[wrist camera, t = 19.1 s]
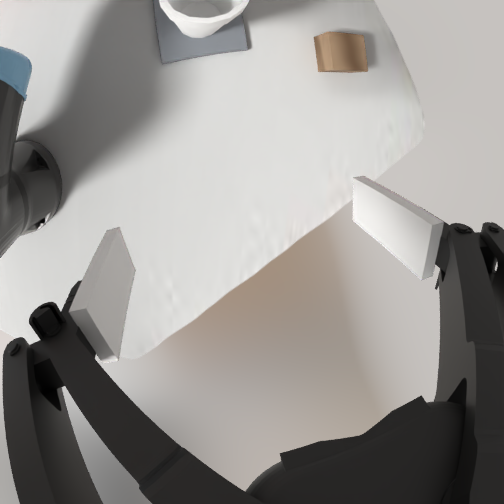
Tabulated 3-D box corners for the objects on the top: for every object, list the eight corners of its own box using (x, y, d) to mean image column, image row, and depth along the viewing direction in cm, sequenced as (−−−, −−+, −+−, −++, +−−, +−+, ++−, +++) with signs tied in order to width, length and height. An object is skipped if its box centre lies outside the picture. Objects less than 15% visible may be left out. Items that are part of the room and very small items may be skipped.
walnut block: (318, 71, 37) (333, 69, 33) (313, 37, 34) (327, 31, 30) (350, 72, 38) (367, 71, 34) (346, 39, 35) (363, 35, 30)
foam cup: (202, -17, 26) (210, -59, 15) (246, 19, 30) (272, -11, 19) (152, 22, 28) (138, -9, 17) (197, 60, 32) (202, 40, 21)
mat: (162, 64, 32) (162, 63, 32) (152, -4, 26) (152, -6, 25) (246, 50, 34) (247, 49, 33) (235, -16, 27) (236, -18, 27)
